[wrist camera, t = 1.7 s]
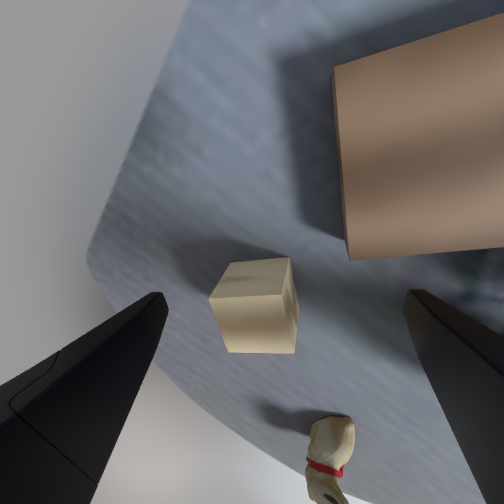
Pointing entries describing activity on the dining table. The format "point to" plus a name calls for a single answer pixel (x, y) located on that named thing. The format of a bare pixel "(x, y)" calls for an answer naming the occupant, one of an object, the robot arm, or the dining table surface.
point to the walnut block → (423, 144)
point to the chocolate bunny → (329, 458)
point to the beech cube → (257, 306)
